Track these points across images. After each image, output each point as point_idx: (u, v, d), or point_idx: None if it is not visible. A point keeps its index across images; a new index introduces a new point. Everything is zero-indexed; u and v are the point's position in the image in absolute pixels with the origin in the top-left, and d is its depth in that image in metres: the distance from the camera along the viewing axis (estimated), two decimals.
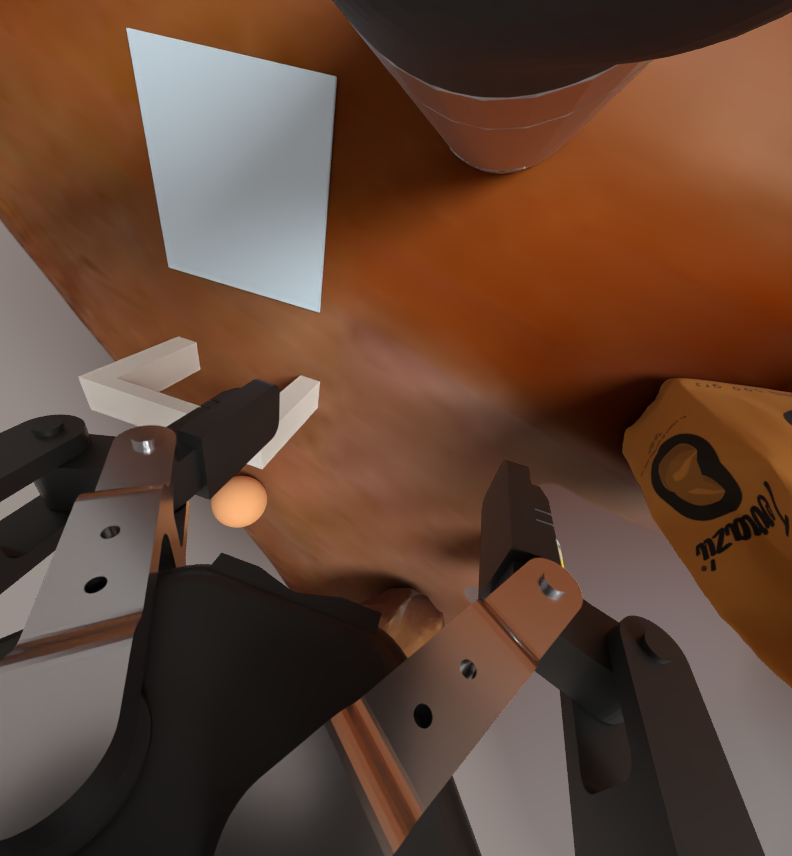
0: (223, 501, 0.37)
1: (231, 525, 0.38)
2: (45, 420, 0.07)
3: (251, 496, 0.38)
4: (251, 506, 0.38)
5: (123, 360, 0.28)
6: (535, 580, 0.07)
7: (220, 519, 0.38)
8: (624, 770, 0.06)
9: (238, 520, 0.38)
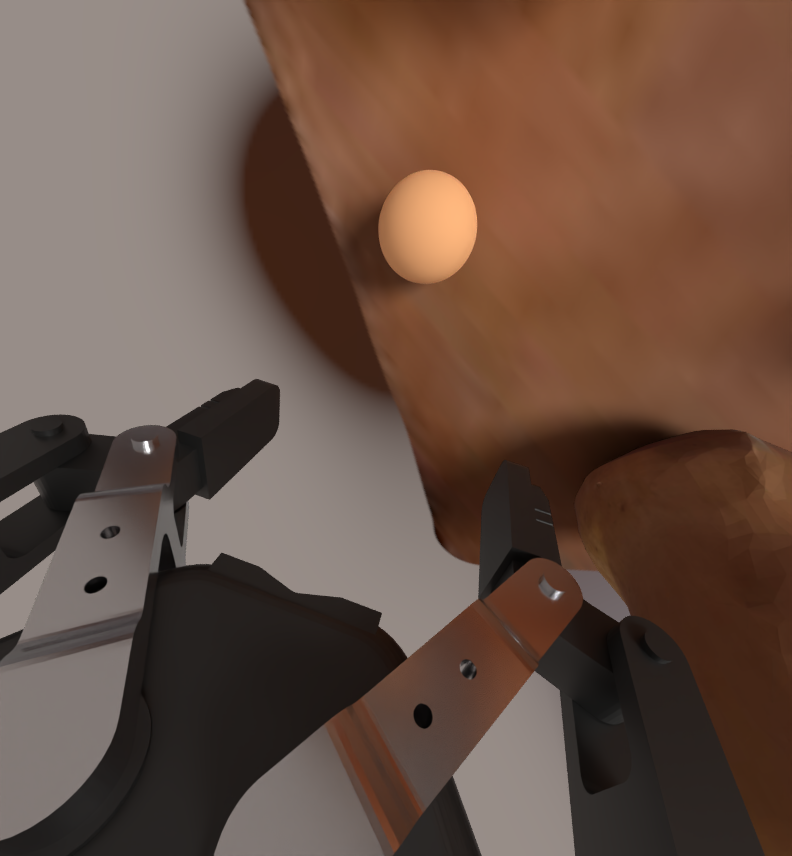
0: (423, 187, 0.18)
1: (427, 254, 0.19)
2: (44, 420, 0.07)
3: (468, 195, 0.19)
4: (470, 213, 0.19)
5: None
6: (535, 580, 0.07)
7: (409, 234, 0.18)
8: (624, 770, 0.06)
9: (447, 236, 0.18)
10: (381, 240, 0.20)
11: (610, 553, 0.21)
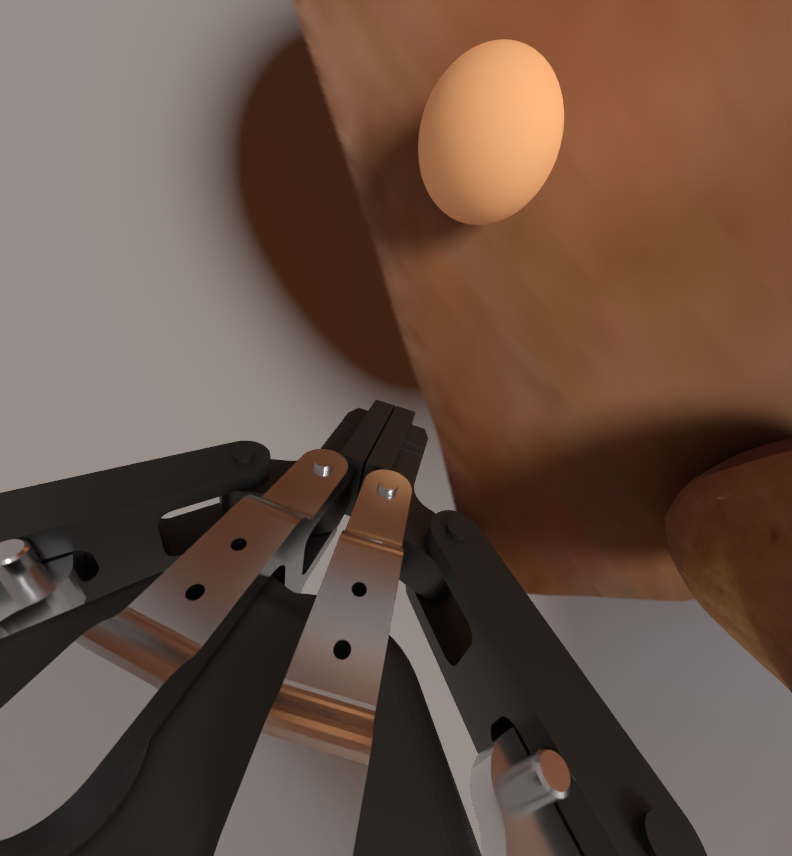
0: (495, 56, 0.12)
1: (496, 164, 0.13)
2: (245, 447, 0.08)
3: (556, 79, 0.13)
4: (560, 103, 0.13)
5: None
6: (372, 483, 0.08)
7: (473, 132, 0.12)
8: (467, 625, 0.08)
9: (530, 134, 0.12)
10: (424, 154, 0.14)
11: (753, 600, 0.15)
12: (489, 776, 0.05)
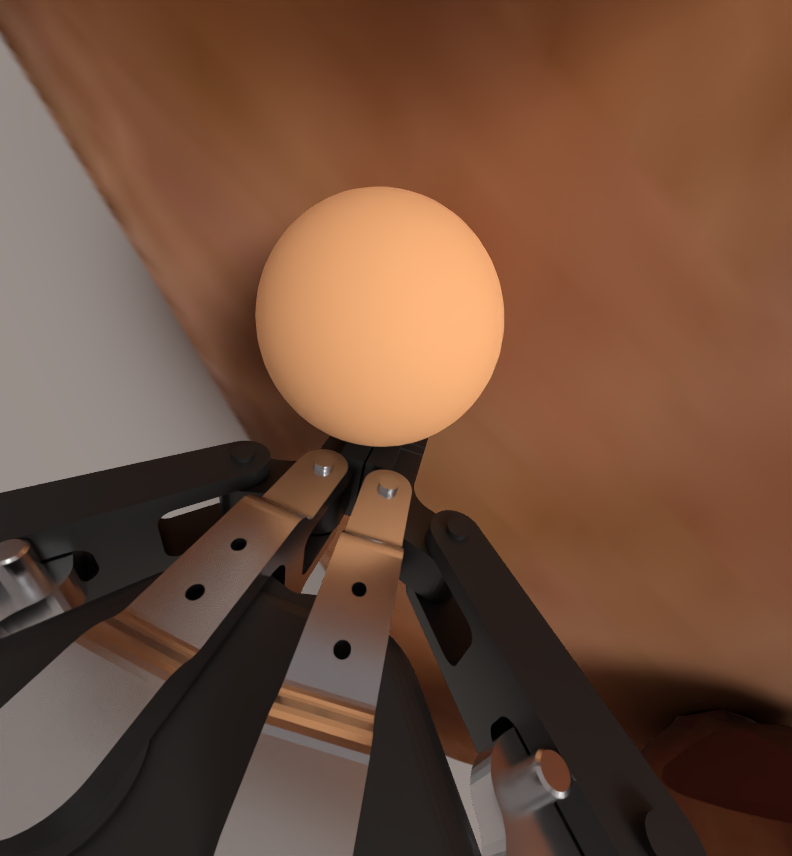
0: None
1: (409, 258, 0.06)
2: (245, 446, 0.08)
3: None
4: None
5: None
6: (372, 483, 0.08)
7: (362, 207, 0.06)
8: (467, 625, 0.08)
9: (468, 248, 0.06)
10: (264, 270, 0.07)
11: None
12: (489, 776, 0.05)
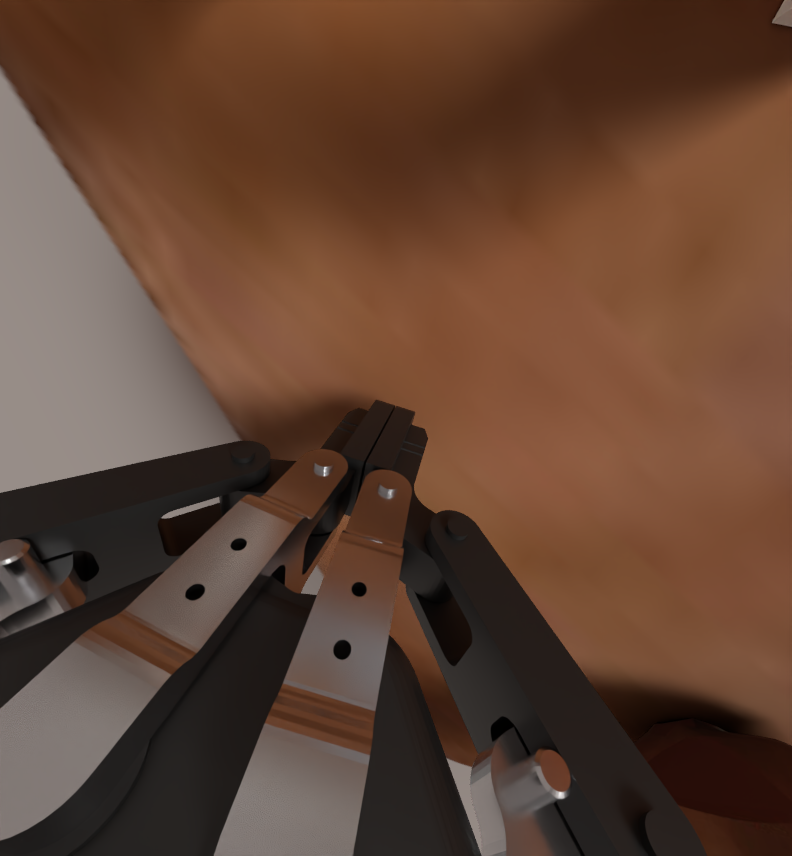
0: None
1: None
2: (245, 446, 0.08)
3: None
4: None
5: None
6: (372, 483, 0.08)
7: None
8: (467, 625, 0.08)
9: None
10: None
11: None
12: (489, 776, 0.05)
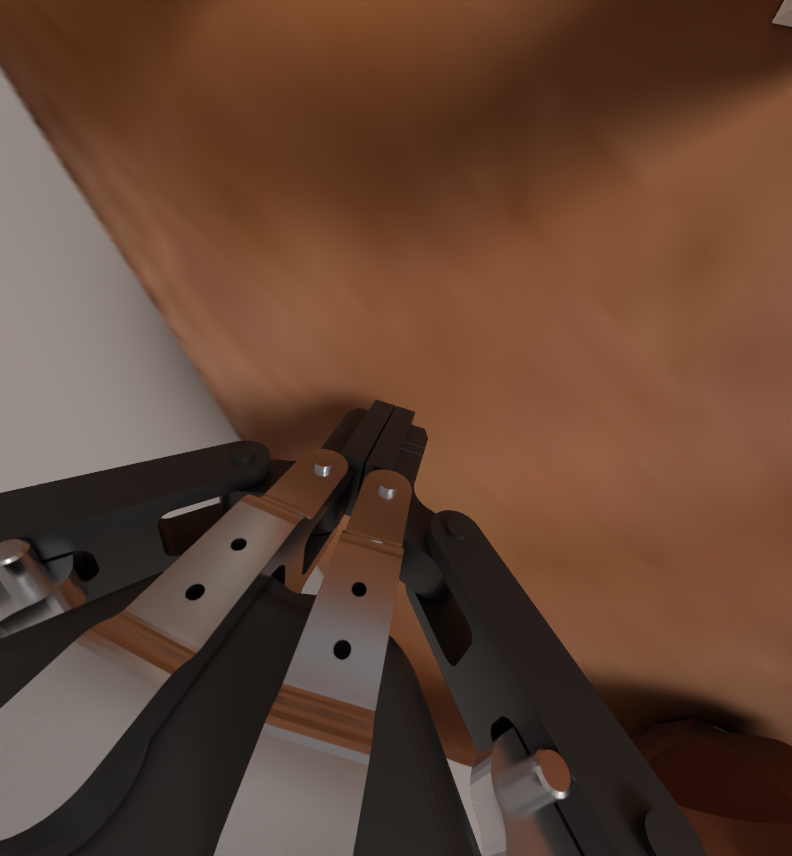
0: None
1: None
2: (245, 446, 0.08)
3: None
4: None
5: None
6: (372, 483, 0.08)
7: None
8: (467, 625, 0.08)
9: None
10: None
11: None
12: (489, 776, 0.05)
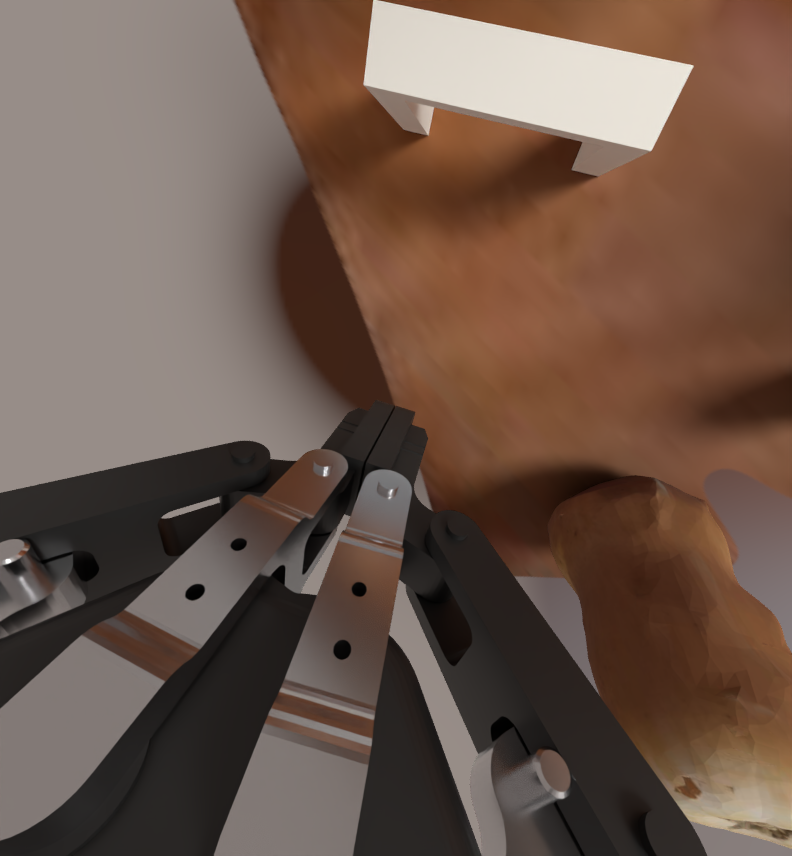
0: None
1: None
2: (245, 446, 0.08)
3: None
4: None
5: None
6: (372, 483, 0.08)
7: None
8: (467, 625, 0.08)
9: None
10: None
11: (568, 565, 0.31)
12: (489, 776, 0.05)
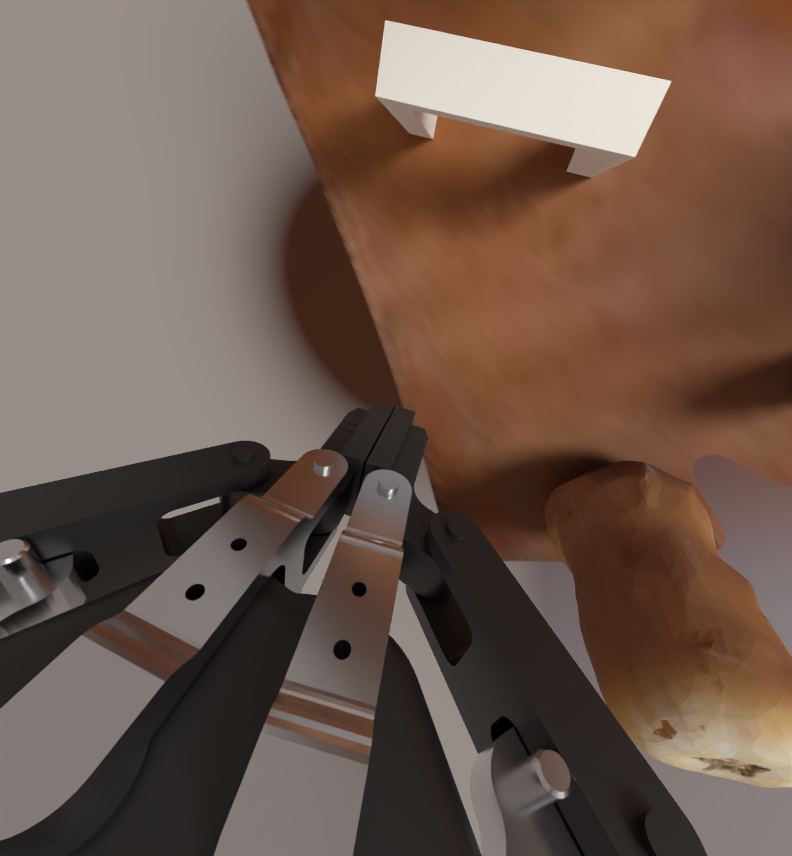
0: None
1: None
2: (245, 447, 0.08)
3: None
4: None
5: None
6: (372, 483, 0.08)
7: None
8: (467, 625, 0.08)
9: None
10: None
11: (563, 543, 0.33)
12: (489, 776, 0.05)
